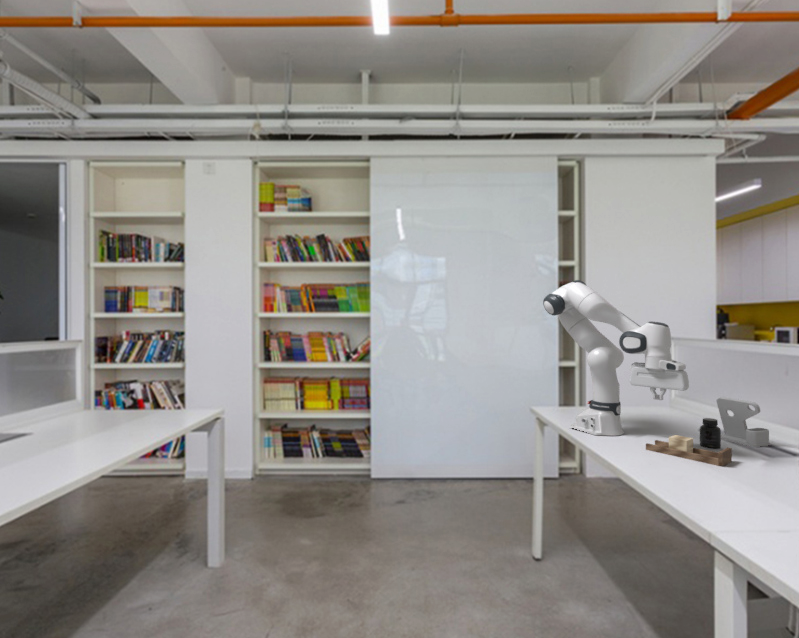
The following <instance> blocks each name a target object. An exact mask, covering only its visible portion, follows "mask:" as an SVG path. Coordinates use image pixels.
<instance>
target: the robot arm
mask: <svg viewBox="0 0 799 638" xmlns="http://www.w3.org/2000/svg"><path fill="white" fill-rule="evenodd" d="M542 304H543V307H544V309H545V310H544V311H546V312H547V313H548V314H549V315H551V316H557V317H558V320H559V322H560V323H561V326H562V327H563V328H564V330H565V331H566V332H567V333H568V334H569V336H570V337H571V338H572V339H573V341H574V342H575V343H576V345H578V346H579V348H582V349H583V350H584V351H585V352H587V353H588V355H587V358H586V363H587V365H588V366H589V370H590V376H591V381H592V399H591V400H589V401H587V405H589V406H588V407H587V408H586V409H584V410H583V411H581V412H580V413H578V414H577V415H576V418H575V423H572V424H571V425H570V427H571V428H570V429H572V428H574V429H573V430H575V429H577V430H576V431H579V430H580V432H582V431H584V432H583V433H586V432H587V434H590V435H594V436H609V437H610V436H612V437H613V436H621V435H624V431H623V425H622V422H621V410H622V409H621V401H620V383H619V380H618V375H617V368H619V367H620V366H621V365H622V364H623V362H624V360H625V359H624V358H625V357H624V353H627V354H630V355H641V354H644V362H638V361H636V362H634V363H631V364H630V375H629V383H630V385H631V386H634V387H636V386H637V387H645V388H646V387H647V388H649V390H650V392H651V395H652V396H653V397H652V399H653V400H657V401H658V400H659V401H663V400H664V395H665V394H666V393H667V390H670V391H672V390H673V391H682V392H684V391H687V390H688V389H689V387H690V384H689V383H690V381H689V376H688V375H689V374H688V372H687V371H686V367H687V365H686V364H685V363H682V362H680V361H677V360H674V359H672V354H671V348H672V335H671V329H670V326H669V325H668V324H666V323H664V322H658V321H647V322H646V323H645V324H643V325H640V324H638V323H637V322H635V321H634V320H632V318H630V317H628V316H627V315H625V314H624V313H623V312H621V311H620V310H618V309H617V308H616V307H615V306H613V305H612V304H611V303H610V302H609V301H607V300H606V299H605V298H604V297H603V296H602V295H600V294H599V293H598V292H597V291H595V290H594V289H593V288H592V287H590V286H588V285H587V283H585V282H584V281H583V280H581V279H576V280H573V281H570V282H568V283H565V284H564V285H561V286H560V287H558V288H557V289H555V290H554V291H552V292H551V293H549V294H547V295H546V296H545V297H544V298H543V303H542ZM591 321H592V322H598V323H599V322H600V323H603V324H608V325H610V326H613V327H615V328H616V329H617V330H619V331H620V332H621V333H622V334H621V335H620V336H619V339H618V340H619V341H618V342H619V343H618V345H619V347H620V348H618V347H617V346H616V345H615V344H614V343H613V342H612V341H611V340H610V339H608V337H606V336H605V335H604V334H603V333H602V332H600V330H598V328H597V327H596V326H595V325H594V324H593V323H592V322H591ZM657 389H659V390H660V394H658V393H657V392H656V390H657Z"/></svg>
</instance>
